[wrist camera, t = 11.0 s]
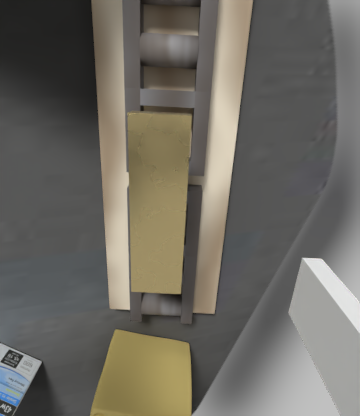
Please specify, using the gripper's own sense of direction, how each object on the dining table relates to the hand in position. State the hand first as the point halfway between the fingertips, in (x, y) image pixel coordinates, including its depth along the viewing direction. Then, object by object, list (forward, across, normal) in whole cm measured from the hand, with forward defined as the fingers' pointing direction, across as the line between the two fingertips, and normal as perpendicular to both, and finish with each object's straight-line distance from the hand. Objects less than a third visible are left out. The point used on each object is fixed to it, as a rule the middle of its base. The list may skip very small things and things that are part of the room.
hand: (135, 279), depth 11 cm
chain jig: (+17, +1, 0) cm, 17 cm away
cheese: (+18, -1, -26) cm, 31 cm away
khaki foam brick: (+16, 0, 0) cm, 16 cm away
